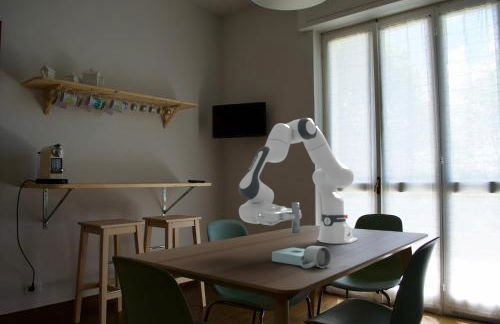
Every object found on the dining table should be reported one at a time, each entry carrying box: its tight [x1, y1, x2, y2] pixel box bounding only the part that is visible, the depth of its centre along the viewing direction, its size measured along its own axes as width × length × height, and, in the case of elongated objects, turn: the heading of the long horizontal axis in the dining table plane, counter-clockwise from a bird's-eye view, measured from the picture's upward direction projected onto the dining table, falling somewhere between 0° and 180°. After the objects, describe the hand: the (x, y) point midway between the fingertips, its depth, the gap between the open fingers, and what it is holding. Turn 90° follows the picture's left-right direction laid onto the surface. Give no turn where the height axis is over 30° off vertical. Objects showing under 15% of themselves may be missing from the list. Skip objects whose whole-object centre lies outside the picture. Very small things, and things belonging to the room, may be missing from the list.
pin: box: [291, 202, 301, 234], centre depth 155 cm, size 3×3×12 cm
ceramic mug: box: [300, 245, 332, 269], centre depth 143 cm, size 11×8×8 cm
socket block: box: [271, 246, 307, 267], centre depth 154 cm, size 14×14×4 cm
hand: (297, 216), depth 155 cm, fingers closed on pin, 3 cm apart
